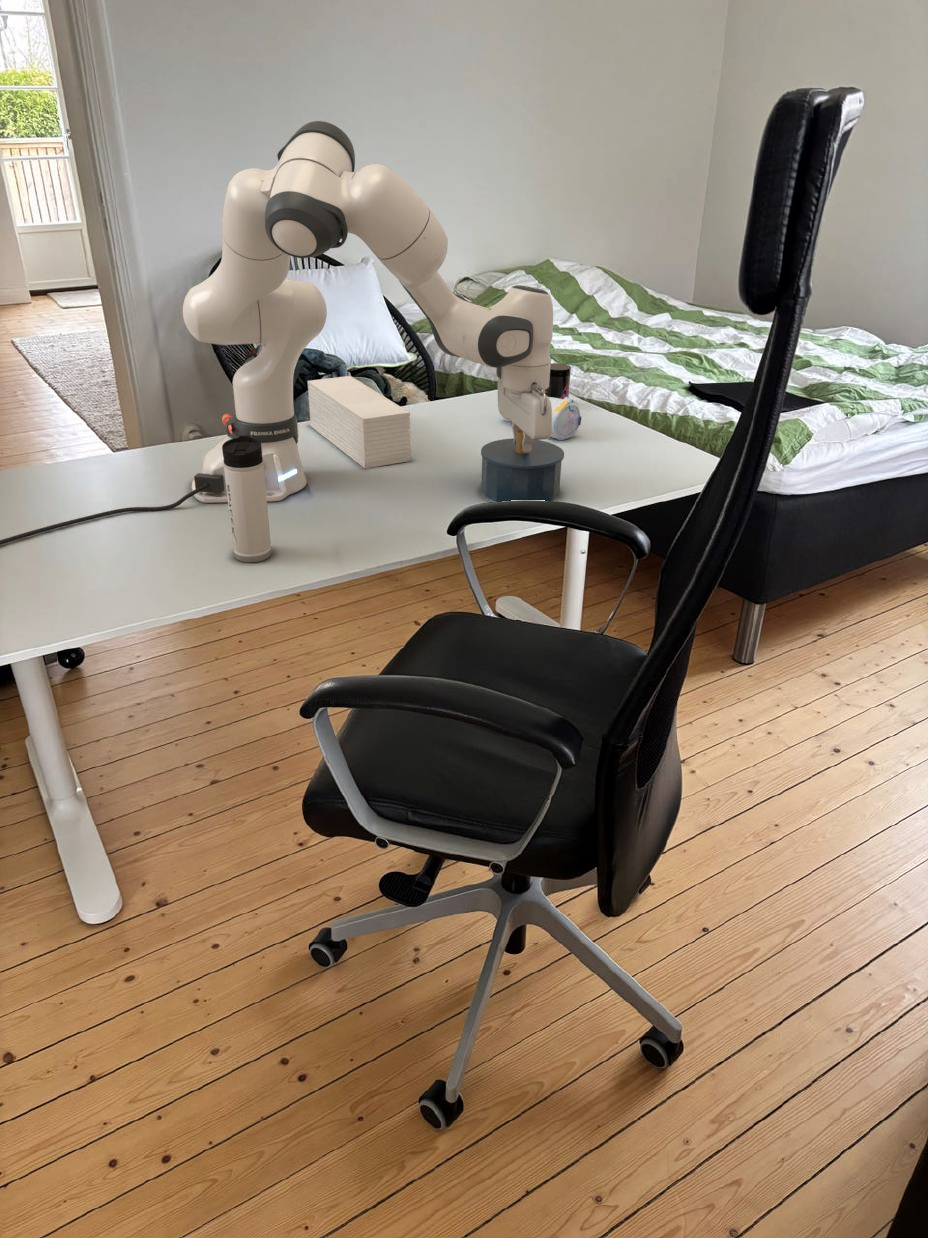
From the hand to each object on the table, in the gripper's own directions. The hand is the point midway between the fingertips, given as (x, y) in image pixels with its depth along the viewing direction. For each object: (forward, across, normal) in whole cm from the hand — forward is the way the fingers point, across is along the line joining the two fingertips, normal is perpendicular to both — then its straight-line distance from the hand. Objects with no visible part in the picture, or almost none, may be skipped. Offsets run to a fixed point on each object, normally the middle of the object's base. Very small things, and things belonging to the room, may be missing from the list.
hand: (522, 447), depth 180 cm
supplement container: (+10, +53, -29) cm, 61 cm away
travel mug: (+10, -15, +54) cm, 57 cm away
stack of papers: (+10, +38, +25) cm, 47 cm away
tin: (+10, 0, 0) cm, 10 cm away
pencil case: (+10, +37, -18) cm, 43 cm away
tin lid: (+1, 0, 0) cm, 1 cm away
